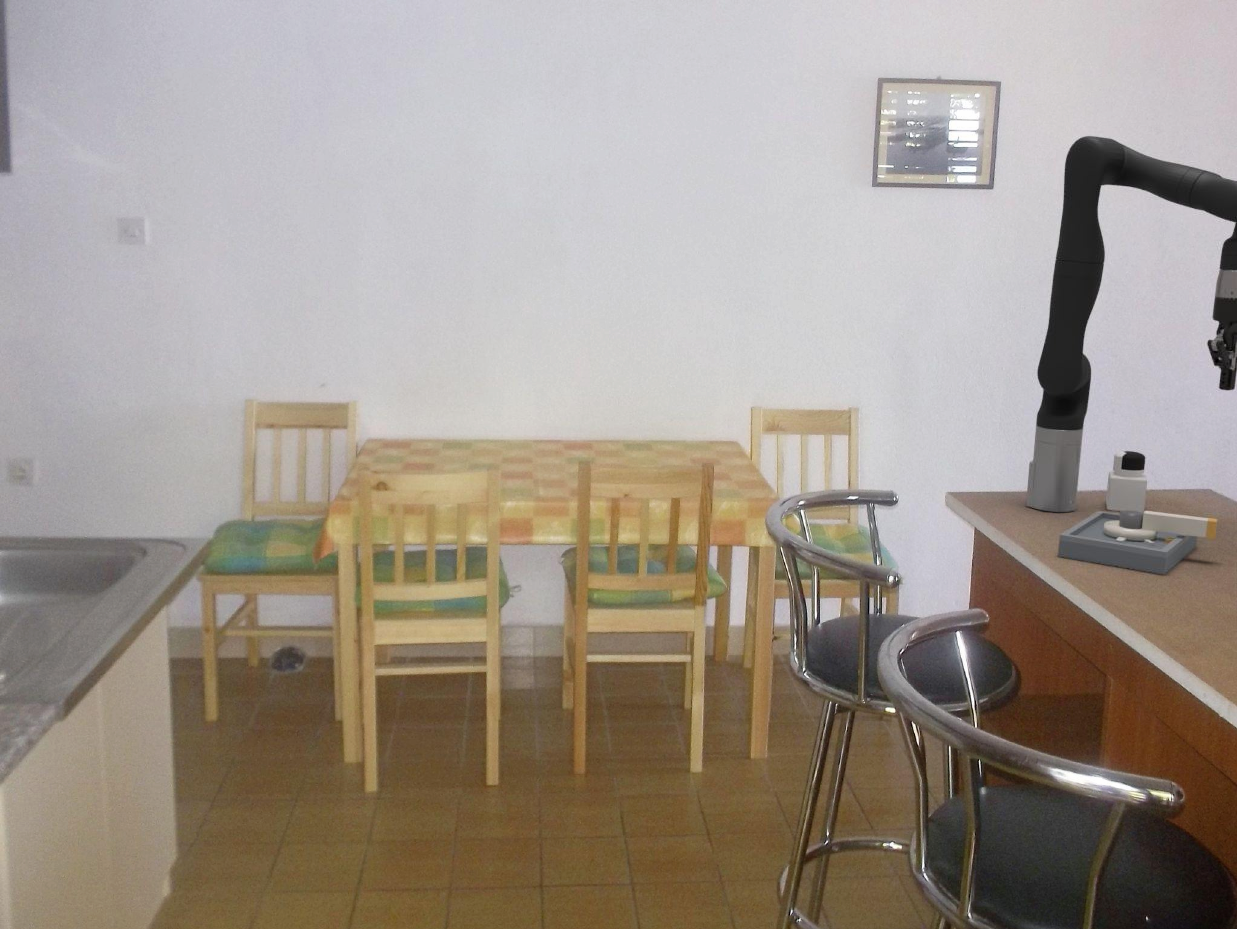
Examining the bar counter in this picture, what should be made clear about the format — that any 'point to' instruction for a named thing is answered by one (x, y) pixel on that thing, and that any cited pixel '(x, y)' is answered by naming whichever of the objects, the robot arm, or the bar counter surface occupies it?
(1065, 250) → the robot arm
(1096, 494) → the bar counter surface
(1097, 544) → the grey tray
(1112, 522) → the white lever with disc
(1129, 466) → the medicine bottle
